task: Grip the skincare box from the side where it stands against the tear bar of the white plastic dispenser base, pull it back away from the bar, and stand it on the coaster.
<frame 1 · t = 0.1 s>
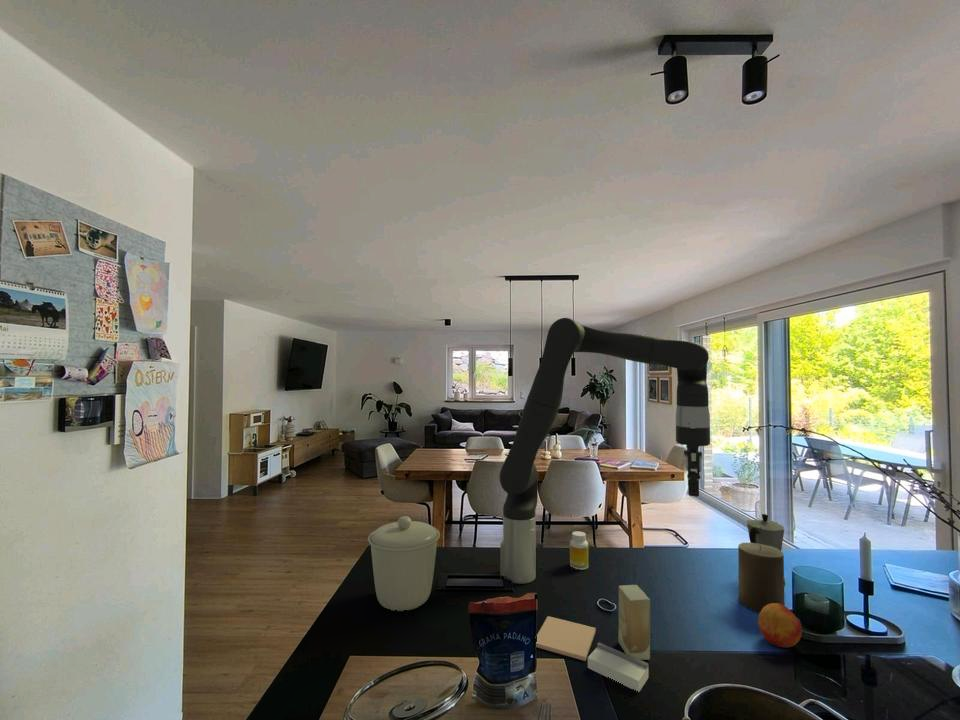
hand: (693, 491, 104), 29 cm above the kitchen island, tool pointing down, fingers open, 8 cm apart
canister: (403, 601, 109), on the kitchen island
pillar candle: (761, 605, 107), on the kitchen island
dispenser: (634, 651, 89), on the kitchen island
coaster: (565, 638, 93), on the kitchen island
supplement bottle: (579, 566, 129), on the kitchen island
skincare box: (634, 652, 89), on the kitchen island
coffeepot: (764, 580, 120), on the kitchen island
fruit: (780, 645, 91), on the kitchen island
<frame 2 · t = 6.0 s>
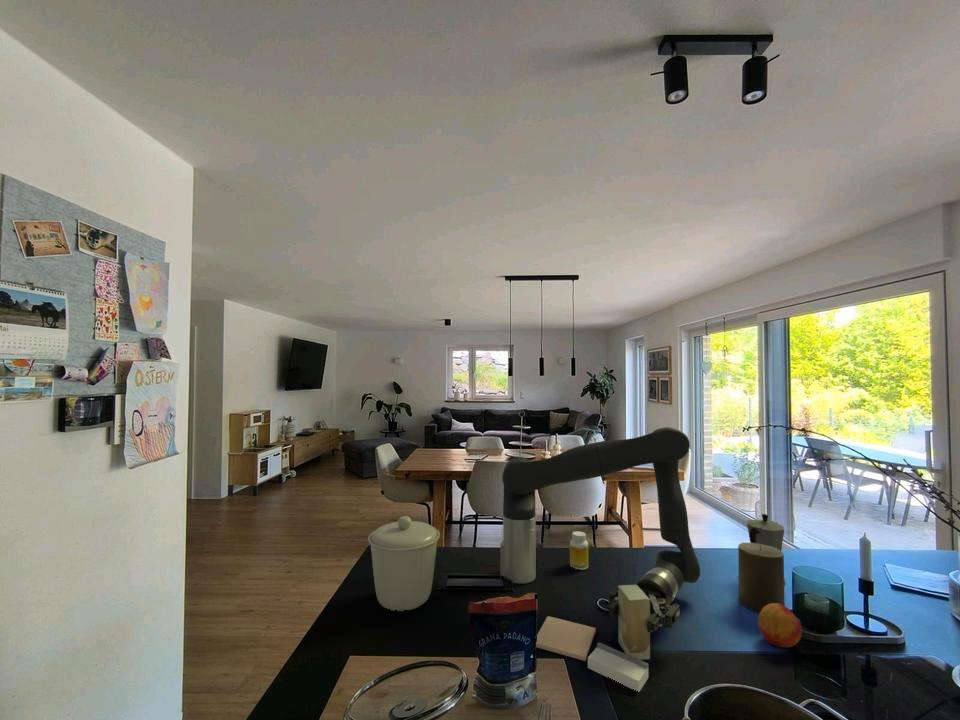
hand: (629, 620, 88), 7 cm above the kitchen island, tool horizontal, fingers closed on skincare box, 7 cm apart
skincare box: (634, 652, 89), on the kitchen island, touching gripper
everything else where it was.
when the fingers open (9 cm above the kitchen island, at t = 13.0 s): skincare box stays where it is, resting on coaster.
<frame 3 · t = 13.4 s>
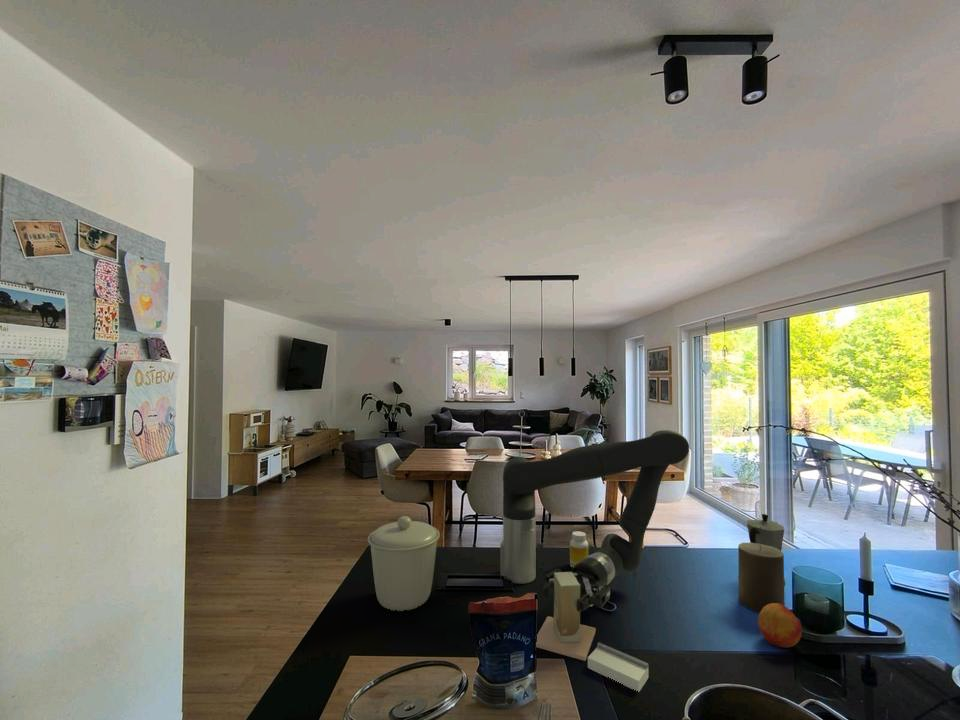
hand: (560, 599, 92), 9 cm above the kitchen island, tool horizontal, fingers open, 8 cm apart
skincare box: (566, 635, 93), point 1 cm above the kitchen island, touching coaster, gripper
everything else where it was.
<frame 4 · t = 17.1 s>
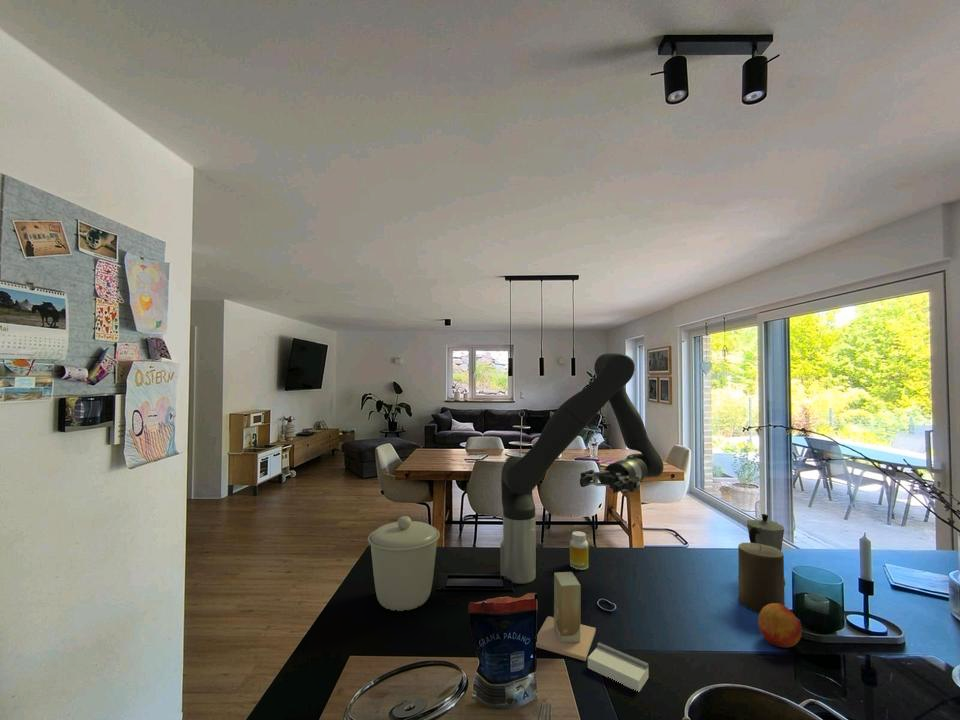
hand: (597, 485, 106), 30 cm above the kitchen island, tool horizontal, fingers open, 8 cm apart
skincare box: (566, 635, 93), point 1 cm above the kitchen island, touching coaster
everything else where it was.
at the end: skincare box 0.4 cm from the coaster (horizontally); skincare box tilted 0°; skincare box point 0.6 cm above the kitchen island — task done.
